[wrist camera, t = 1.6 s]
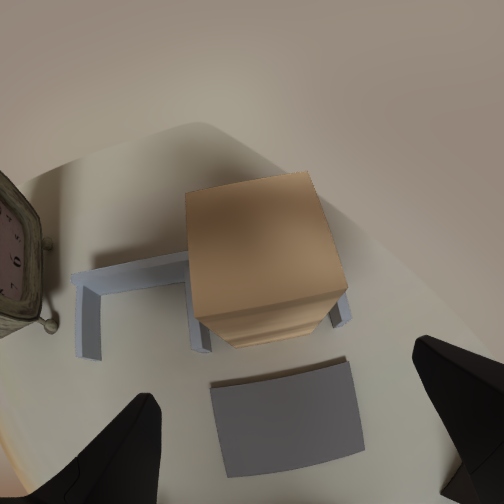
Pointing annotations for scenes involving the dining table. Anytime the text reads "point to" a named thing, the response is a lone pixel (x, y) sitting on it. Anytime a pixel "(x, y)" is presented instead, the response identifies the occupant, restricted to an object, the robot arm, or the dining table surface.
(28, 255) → the tabletop clock
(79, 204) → the dining table surface
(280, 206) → the oak block
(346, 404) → the rubber mat
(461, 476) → the phone stand
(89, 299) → the shelf
